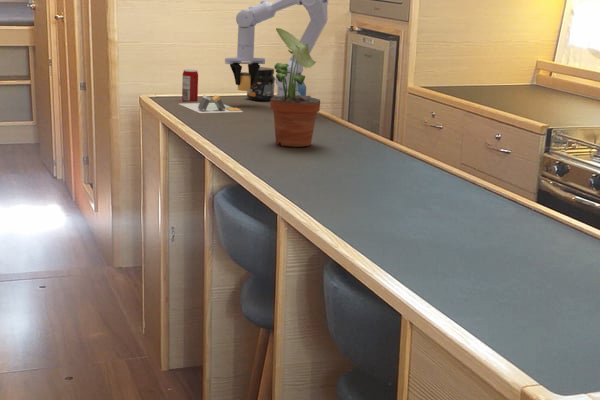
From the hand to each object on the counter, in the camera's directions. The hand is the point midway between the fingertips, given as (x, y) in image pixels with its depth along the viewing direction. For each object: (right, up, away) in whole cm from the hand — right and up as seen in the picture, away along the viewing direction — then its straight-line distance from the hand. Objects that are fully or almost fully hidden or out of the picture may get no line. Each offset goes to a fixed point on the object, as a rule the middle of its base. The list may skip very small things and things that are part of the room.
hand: (244, 84), depth 312 cm
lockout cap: (0, -2, 0) cm, 2 cm away
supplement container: (+4, -2, +28) cm, 29 cm away
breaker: (-14, -11, -13) cm, 22 cm away
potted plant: (+18, -25, -56) cm, 64 cm away
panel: (-11, -10, -5) cm, 16 cm away
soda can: (-21, -5, +11) cm, 24 cm away
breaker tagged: (-7, -10, -9) cm, 15 cm away
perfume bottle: (+17, -4, +25) cm, 31 cm away
